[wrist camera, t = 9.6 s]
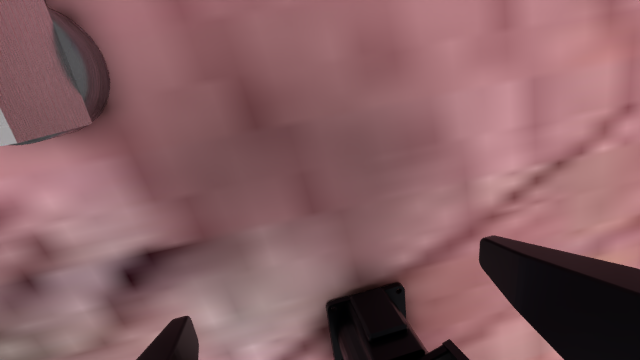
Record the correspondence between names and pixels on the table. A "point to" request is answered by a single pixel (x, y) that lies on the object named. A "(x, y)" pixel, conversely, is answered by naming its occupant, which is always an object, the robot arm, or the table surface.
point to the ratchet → (81, 68)
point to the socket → (35, 76)
